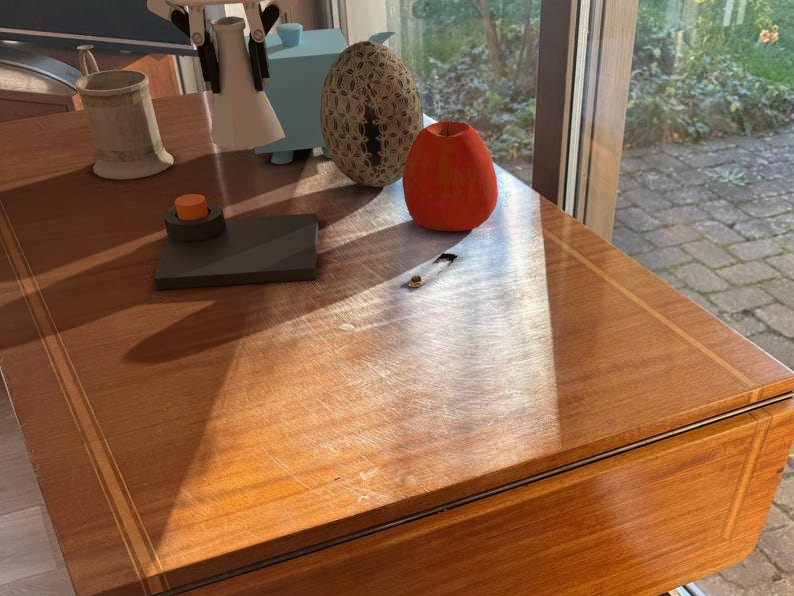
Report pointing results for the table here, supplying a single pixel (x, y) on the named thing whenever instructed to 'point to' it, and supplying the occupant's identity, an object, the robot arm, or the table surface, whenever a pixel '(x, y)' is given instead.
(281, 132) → the flask
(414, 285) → the fossil
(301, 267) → the scale
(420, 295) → the table surface
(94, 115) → the mug
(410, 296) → the table surface
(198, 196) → the button
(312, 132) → the teapot
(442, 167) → the apple
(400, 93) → the decorative egg
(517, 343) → the table surface
